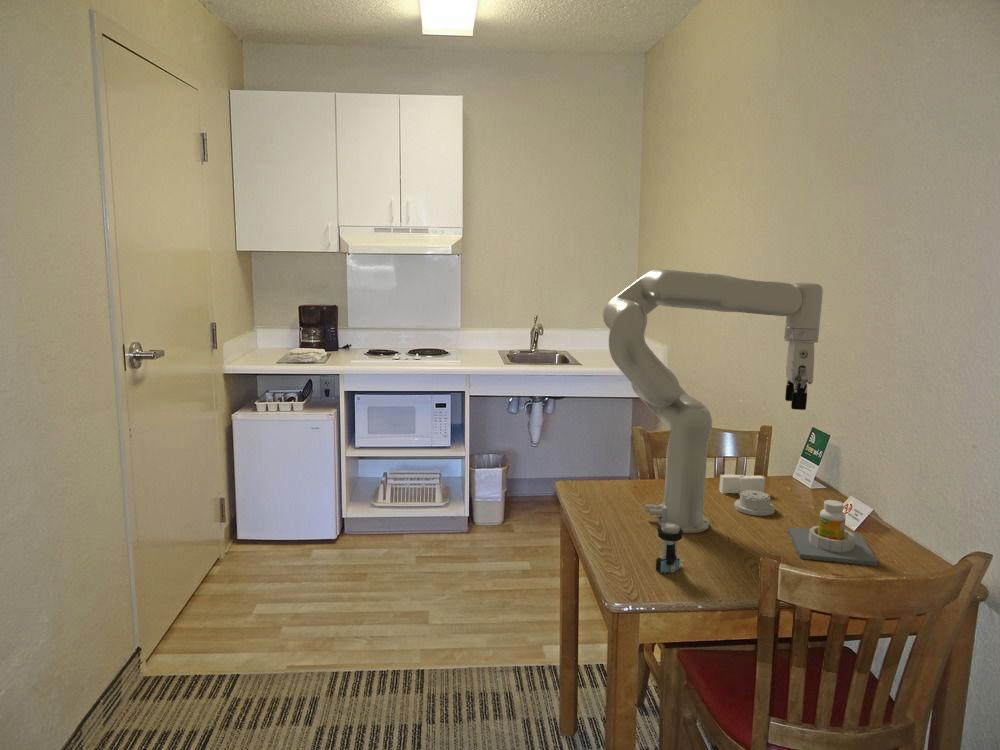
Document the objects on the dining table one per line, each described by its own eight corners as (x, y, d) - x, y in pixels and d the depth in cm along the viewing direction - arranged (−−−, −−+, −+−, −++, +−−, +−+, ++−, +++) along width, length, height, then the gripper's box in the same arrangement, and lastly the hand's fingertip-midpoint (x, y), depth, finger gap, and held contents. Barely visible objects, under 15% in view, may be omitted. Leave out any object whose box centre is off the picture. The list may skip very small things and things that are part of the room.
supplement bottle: (813, 542, 166) (816, 502, 165) (823, 536, 170) (826, 497, 168) (837, 549, 162) (841, 508, 161) (846, 543, 166) (850, 503, 164)
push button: (674, 561, 158) (676, 518, 156) (691, 571, 153) (694, 526, 151) (650, 567, 155) (652, 523, 153) (666, 577, 150) (669, 532, 148)
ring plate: (799, 558, 160) (801, 543, 160) (788, 531, 176) (789, 517, 175) (878, 566, 157) (879, 551, 156) (859, 537, 172) (860, 523, 171)
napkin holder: (771, 493, 204) (773, 474, 202) (761, 505, 194) (762, 485, 193) (719, 483, 212) (720, 464, 211) (706, 494, 203) (707, 474, 202)
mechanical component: (742, 517, 185) (780, 517, 185) (743, 500, 184) (782, 500, 185) (728, 503, 195) (764, 503, 195) (729, 487, 194) (766, 487, 194)
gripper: (825, 340, 164) (818, 413, 167) (811, 331, 180) (805, 398, 183) (790, 338, 165) (783, 411, 168) (779, 330, 182) (774, 397, 185)
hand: (795, 405), depth 176 cm, fingers open, 9 cm apart
